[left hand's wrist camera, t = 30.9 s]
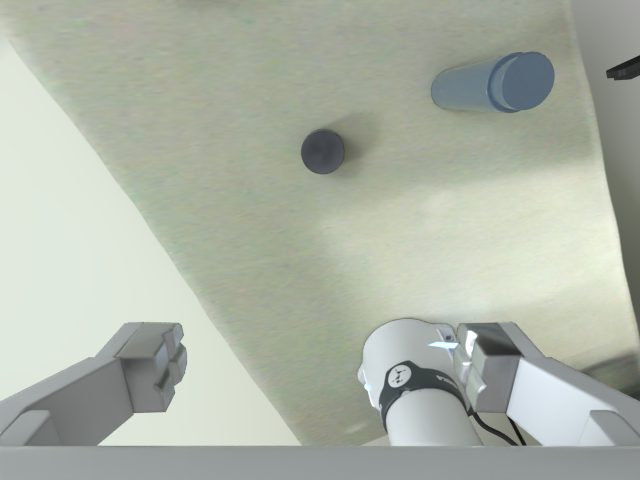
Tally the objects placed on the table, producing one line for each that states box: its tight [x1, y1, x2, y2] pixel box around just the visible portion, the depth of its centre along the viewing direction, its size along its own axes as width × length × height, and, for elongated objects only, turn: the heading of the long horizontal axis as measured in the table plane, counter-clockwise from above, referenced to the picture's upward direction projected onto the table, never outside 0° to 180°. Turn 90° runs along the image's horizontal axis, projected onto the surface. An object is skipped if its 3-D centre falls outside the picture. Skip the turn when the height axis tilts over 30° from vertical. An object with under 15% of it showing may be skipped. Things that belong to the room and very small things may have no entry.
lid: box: [301, 129, 344, 174], centre depth 50 cm, size 6×6×2 cm
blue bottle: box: [431, 52, 554, 113], centre depth 39 cm, size 5×5×19 cm
